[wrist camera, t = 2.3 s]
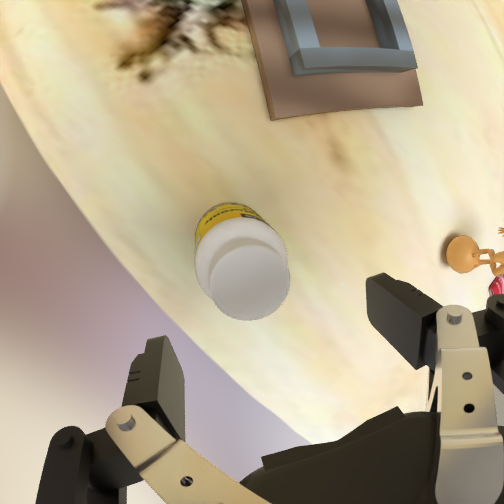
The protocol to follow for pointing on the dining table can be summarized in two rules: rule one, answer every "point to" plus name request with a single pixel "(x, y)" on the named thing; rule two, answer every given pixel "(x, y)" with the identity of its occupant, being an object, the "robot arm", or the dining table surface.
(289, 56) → the cradle board
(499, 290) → the dish towel
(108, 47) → the dining table surface
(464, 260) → the figurine
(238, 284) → the supplement bottle
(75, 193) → the dining table surface
